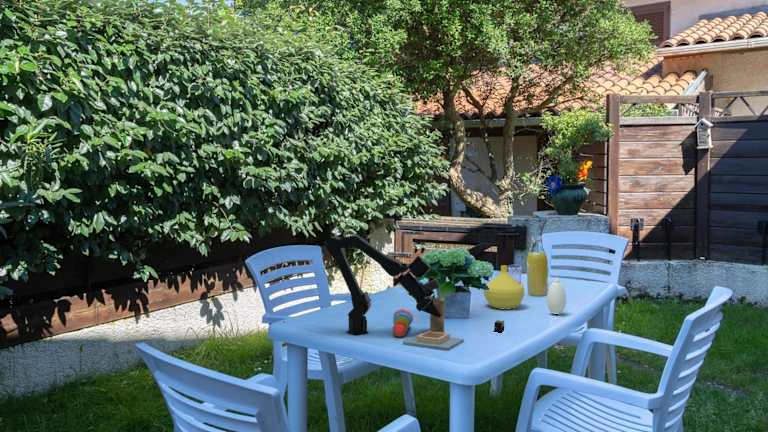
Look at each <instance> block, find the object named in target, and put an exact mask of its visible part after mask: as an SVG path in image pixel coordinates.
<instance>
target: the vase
mask: <svg viewBox="0 0 768 432" xmlns="http://www.w3.org/2000/svg"><path fill="white" fill-rule="evenodd" d="M485 285H487V286H488V288H489V290H484V289H483V295H484V297H485V299H486V302H487V303H488V304H489V305H490V306H491V307H492V308H493V307H495V308H494V309H496V308H513V309H515V308H517V307H518V306H519V305H521V302H522V301H523V299H524V296H525V287H524V285H523V284H521V283H520V282H518V280H516V279H515V278H513V276H511V275H510V273H509V272H508V265H503V264H502V265H500V272H499V274H498V275H497V276H496V277H493V279H491V280H490V281H489V282H488V283H485ZM514 307H515V308H514Z"/></svg>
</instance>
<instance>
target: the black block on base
mask: <svg viewBox="0 0 768 432" xmlns="http://www.w3.org/2000/svg"><path fill="white" fill-rule="evenodd" d="M504 329H505V321H504V320H496V321H494V329H493V330H494V331H493V330H492V331H493V332H498V333H502V332H503V331H504Z"/></svg>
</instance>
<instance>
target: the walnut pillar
mask: <svg viewBox="0 0 768 432" xmlns="http://www.w3.org/2000/svg"><path fill="white" fill-rule="evenodd" d="M432 299H433V304H434V306H435V307H436V309H437V310H438V311H439V313H440V314H441V317H440V318H439V317H436V316H434V315H431V314H429V318H430V319H429V320H430V321H429V329H430V330H429V331H432V332H440V333H445V297H435V298H432Z"/></svg>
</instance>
